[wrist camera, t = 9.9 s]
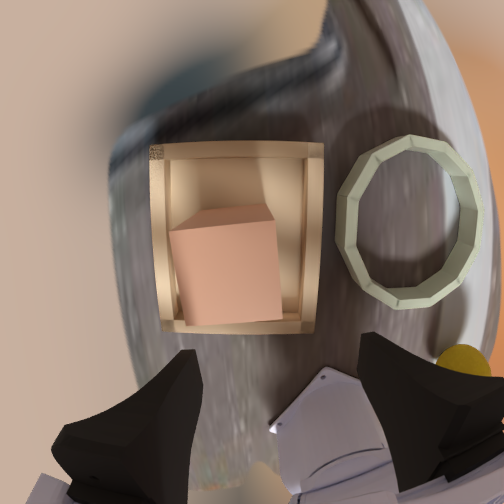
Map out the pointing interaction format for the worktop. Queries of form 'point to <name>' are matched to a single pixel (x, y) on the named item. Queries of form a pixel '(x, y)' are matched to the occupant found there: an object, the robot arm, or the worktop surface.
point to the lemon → (464, 360)
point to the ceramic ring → (467, 232)
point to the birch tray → (239, 194)
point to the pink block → (228, 266)
